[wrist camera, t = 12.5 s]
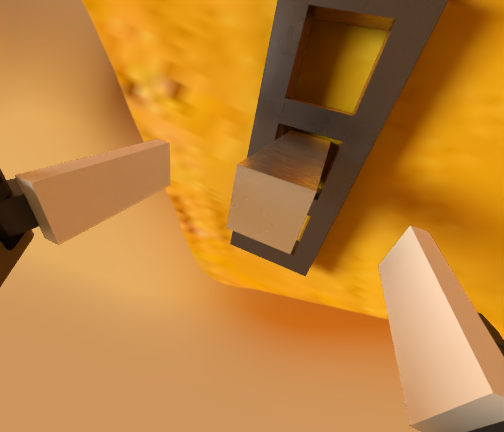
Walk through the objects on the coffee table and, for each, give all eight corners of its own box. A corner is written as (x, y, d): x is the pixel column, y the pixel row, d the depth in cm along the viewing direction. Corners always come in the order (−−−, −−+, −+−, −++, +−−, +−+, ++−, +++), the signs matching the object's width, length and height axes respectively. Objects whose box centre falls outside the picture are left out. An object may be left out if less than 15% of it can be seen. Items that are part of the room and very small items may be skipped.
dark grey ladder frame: (295, -27, 16) (287, -49, 13) (441, -7, 14) (462, -29, 11) (239, 231, 29) (230, 244, 27) (308, 260, 27) (305, 276, 25)
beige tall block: (291, 130, 21) (237, 164, 10) (330, 141, 20) (316, 191, 10) (280, 168, 23) (226, 227, 13) (315, 179, 22) (290, 254, 12)
